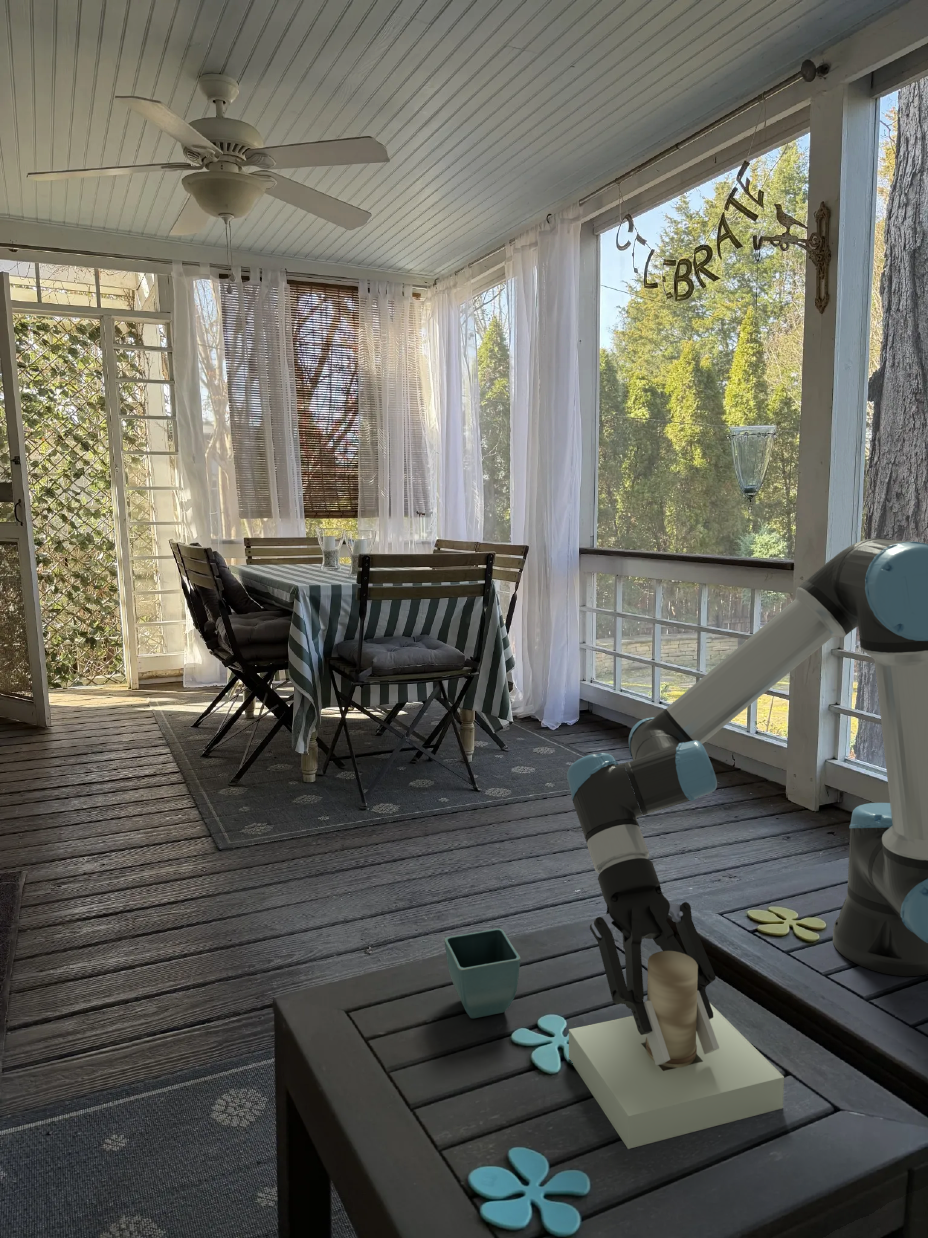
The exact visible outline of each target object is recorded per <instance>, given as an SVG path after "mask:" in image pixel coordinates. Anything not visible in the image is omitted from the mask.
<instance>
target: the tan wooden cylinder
mask: <svg viewBox="0 0 928 1238" xmlns="http://www.w3.org/2000/svg"><path fill="white" fill-rule="evenodd" d="M697 980H698V965H697V963H696V961H695V960H694V959H693V958H691V957H690V956H688V955H687V953H685V954H683V953H680V952H675V951H662V950H661V951H657V952H654V953H653V954H651V955H650V956H649V957H648V959H647V986H646V987H647V995H646V997H647V999H646V1001H650V1000H651V1002H652V1005H653V1008H654V1011H655V1014H656V1017H657V1020H658V1023H659V1026H660V1029H661V1032H662V1035H663V1038H664V1041H665V1045H666V1048H667V1051H668V1054H669V1057H670V1060H669V1061H667V1062H665V1063H663V1064H661V1065H659V1066H660V1068H661V1069H662V1070H663V1071H666V1070H670V1069H674V1068H679V1067H685V1066H688V1065H690V1064H691V1063H692V1062H693V1061H694V1060H695V1057H696V1053H697V1045H696V1020H697ZM646 1049H647V1053H648V1055H649V1057H650V1058H651V1059H652V1060H654V1058H653V1055H652V1052H651V1048H650V1045H649V1042H648V1039H647V1037H646Z"/></svg>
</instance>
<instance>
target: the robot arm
mask: <svg viewBox="0 0 928 1238" xmlns="http://www.w3.org/2000/svg"><path fill="white" fill-rule="evenodd" d="M795 590H796V591H795V597H794V600H793V601H791V602H789V604H788V605H786V606H785V607H784V608H782V610H781V611H779V613H777V614H776V615H775V616H774V617H772V618H771V619H770V620H768V621H767V623H765V624H764V625H763V626H761V627H760V628H759V629H758V630H757V631H756V632H755V633H753V635H751V636H750V637H749V638H747V640H745V641H744V642H743V643H742V644H741V645H739V646H738V647H737V648H736V649H734V650H733V651H732V652H731V653H730V654H729V655H727V656H726V657H725V658H724V659H723V660H722V661H720V662H719V663H718V664H716V665H715V666H714V668H712V669H711V670H709V671H708V672H707V673H706V674H705V675H704V676H702V678H700V679H699V680H698V681H697V682H696V683H694V684H693V685H692V686H691V687H690V688H689V689H687V690H686V691H685V692H684V693H682V694H681V696H679V697H678V698H677V699H676V700H674V701H673V702H671V704H669V705H668V706H667V707H666V708H664V709H663V710H662V711H661V712H660V713H658V714H657V715H655V717H647V718H646V717H645V718H643V719H641V720H639V721H638V722H636V723H635V724H634V725H633V726H632V728H631V730H630V733H629V735H628V747H629V749H628V751H629V753H630V758H632V760H631V761H627V762H622V763H619V762H618V761H617V760H616V758H615V757H614V756H613V755H611V754H610V753H607V752H600V753H597V754H593V753H592V754H588V755H585V756H583V757H581V758H579V759H577V760H576V761H575V762H573V763H572V764H571V765H570V766H569V768H568V770H567V773H566V780H567V783H568V787H569V791H570V792H569V793H570V795H571V800H572V803H573V806H574V807H573V808H574V809H575V812H576V816H577V818H578V822H579V824H580V827H581V830H582V833H583V836H584V839H585V841H586V847H587V848H588V852H589V856H590V858H591V862H592V864H593V868H594V871H595V872H596V873H597V874H598V876H597V880H598V884H599V887H600V890H601V893H602V897H603V900H604V902H605V904H606V912H605V915H603V916H598V917H596V918H595V919H594V920H593V921H592V923H591V924H590V925H589V930H590V931H591V933H592V935H593V936H594V938H595V940H596V942H597V943H598V949H599V952H600V956H601V960H602V964H603V968H604V972H605V976H606V980H607V984H608V987H609V991H610V996H611V1000H612V1002H613V1003H614V1004H615V1005H625V1006H626V1008H628V1009H629V1010H630V1009H631V1013H632V1016H634V1019H635V1023H636V1025H637V1029H638V1032H639V1033H640V1034H641V1035H644V1034H646V1036H647V1039H648V1042H649V1045H650V1048H651V1052H652V1055H653V1058H654V1061H655V1064H656V1066H657V1065H661V1064H663V1063H665V1062H667V1061H669V1060H670V1057H669V1054H668V1051H667V1048H666V1045H665V1041H664V1038H663V1035H662V1032H661V1029H660V1026H659V1023H658V1020H657V1017H656V1014H655V1011H654V1008H653V1005H652V1002H651V1000H650V1001H647V1000H646V1001H644V998H645V997H644V994H645V993H644V981H643V977H644V976H643V967H642V966H643V964H642V963H643V962H642V947H641V945H642V940H643V939H644V940H645V939H647V940H653V942H654V944H655V945H656V946H658V947H659V948H660V949H661V951H675V952H680V953H683V954H686V955H688V956H690V957H691V958H693V959H694V960H695V961H696V963H697V965H698V980H697V1020H696V1031H697V1034H698V1037H699V1040H700V1043H701V1046H702V1049H703V1052H704V1054H708V1053H711V1052H713V1051H715V1050H717V1049H719V1045H718V1042H717V1040H716V1037H715V1034H714V1031H713V1029H712V1026H711V1023H710V1019H712V1018H713V1011H712V1008H711V1006H710V1004H711V1002H710V1000H709V998H708V995H707V992H706V990H707V989H706V988H707V987H708V986H709V985H710V984H711V983H713V982H714V981H715V980H716V974H715V971H714V968H713V966H712V964H711V962H710V960H709V957H708V955H707V952H706V950H705V948H704V946H703V945H704V944H703V943H702V940H701V938H700V935H699V934H698V931H697V929H696V927H695V924H694V922H693V916H692V907H691V904H690V903H689V902H687V901H685V902H682V903H679V904H678V903H677V904H676V903H672V902H671V903H670V902H669V900H668V899H667V898H666V897H665V895H664V894H663V892H662V887H661V882H660V880H659V877H658V875H657V871H656V869H655V866H654V864H653V861H651V860H650V859H649V857H650V852H649V850H648V846H647V843H646V841H645V837H644V835H643V833H642V830H641V827H640V824H639V822H638V819H637V818H640V817H643V816H647V815H648V814H652V813H654V812H658V811H661V810H665V809H667V808H671V807H674V806H677V805H681V804H684V803H687V802H693V801H697V799H699V798H701V797H704V796H706V795H709V794H711V793H713V792H715V791H716V790H717V787H718V781H717V776H716V772H715V771H714V770H715V769H714V767H713V764H712V762H711V760H710V759H711V758H709V757H710V756H709V755H708V752H707V750H706V748H705V746H704V745H703V744H705V742H707V741H708V740H709V739H711V738H712V737H713V736H714V735H715V734H717V733H718V732H719V731H720V730H722V728H724V727H725V726H726V725H727V724H729V723H730V722H731V721H732V720H733V719H735V718H736V717H737V716H739V715H740V714H741V713H742V712H743V711H745V710H746V709H747V708H748V707H750V705H752V704H754V702H756V701H757V700H758V699H759V698H760V697H762V696H763V695H764V694H765V693H766V692H768V691H769V690H770V689H771V688H773V686H775V685H776V684H777V683H778V682H780V681H781V680H782V679H783V678H784V677H786V676H788V675H789V673H791V672H792V671H793V670H794V669H796V668H797V667H798V666H799V665H800V664H802V663H803V662H804V661H805V660H807V659H808V658H809V657H810V656H811V655H813V654H814V653H815V652H816V651H818V650H819V649H820V648H821V647H822V646H824V645H825V644H826V643H828V642H829V641H830V640H831V639H832V638H845V637H846V636H848V634H850V633H851V632H852V631H853V630H855V629H856V628H857V629H858V638H859V645H860V649H861V651H863V652H864V653H865V654H867V655H868V656H870V657H871V658H872V659H873V660H874V665H875V667H874V670H875V675H876V687H877V696H878V704H879V712H880V724H881V732H882V741H883V742H882V743H883V751H884V759H885V769H886V777H887V786H888V795H889V802H870V803H864V804H860V805H858V806H856V807H855V808H854V809H853V810H852V813H851V818H850V819H851V820H850V824H849V827H848V828H849V843H848V844H849V847H848V848H849V850H848V851H849V852H848V868H847V869H848V873H847V892H846V893H847V894H846V898H845V899H844V902H843V904H842V907H841V909H840V911H839V915H838V917H837V919H836V920H835V921H834V924H833V929H832V943H833V945H834V948H835V949H836V950H837V951H838V953H840V954H841V956H843V957H845V959H847V960H849V961H851V963H852V962H853V963H854V964H856V965H858V966H861V967H862V968H865V969H868V970H871V971H873V972H874V971H875V972H877V973H881V974H886V975H892V976H898V977H899V976H900V977H917V976H923V975H927V974H928V543H926V542H920V541H906V540H897V539H892V538H891V539H890V538H883V537H874V538H868V539H863V540H861V541H858V542H855V543H853V544H851V545H849V546H848V547H846V548H845V549H843V550H842V551H840V552H839V553H837V554H836V555H835V556H833V557H832V558H831V559H830V560H828V561H827V562H826V563H825V564H823V565H822V566H821V567H820V568H818V570H816V571H815V572H814V573H813V574H812V575H810V576H809V577H808V578H807V579H806V580H805V581H804V582H803V583H801V584H800V585H799V586H798V587H796V589H795ZM668 916H671V921H673V922H675V926H676V929H677V933H678V934H679V937H680V939H681V943H682V945H683V948H684V950H683V948H682V946H681V945H680V943H679V941H678V940H677V939H676V937H675V933H674V931H673V929H672V928H671V926H670V924H669V923H668V922H667V921H668V918H669V917H668ZM613 927H615V928H616V929H617V930H618V931H619V932H620V933H621V934H622V945H623V946H622V947H623V950H624V962H625V976H624V972H623V969H622V964H621V961H620V957H619V953H618V950H617V945H616V942H615V938H614V935H613V933H612V931H613Z"/></svg>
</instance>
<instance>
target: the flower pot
mask: <svg viewBox="0 0 928 1238" xmlns="http://www.w3.org/2000/svg"><path fill="white" fill-rule="evenodd" d="M443 939H444V940H443V941H444V947H445V955H446V961H447V966H448V967H447V968H448V971H449V972H448V973H449V975H450V979H451V981H452V984H453V986H454V989H455V991H456V992H457V995H458V997H459V999H460V1002H461V1004H462V1006H463V1009H464V1010H465V1012H466V1014H467V1015H468V1017H469V1018H470V1019H478V1018H482V1017H483V1018H484V1017H488V1016H493V1015H497V1014H503V1013H505V1012H506V1011H507V1010H508V1009H509V1007H510V1006H511V1004H512V1002H513V1001H514V999H515V997H516V994H517V991H518V986H519V983H518V982H519V976H520V966H521V956H520V954H519V953H518V951H517V950H516V948H515V947H514V946H513V944H512V942H511V941H510V939H509V937H508V936H507V934H506V932H505V931H504V930H503V929H502V928H492V929H487V930H482V931H477V932H475V931H474V932H470V933H464V934H459V935H458V934H457V935H451V936H447V937H444V938H443Z"/></svg>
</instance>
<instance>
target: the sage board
mask: <svg viewBox="0 0 928 1238" xmlns="http://www.w3.org/2000/svg"><path fill="white" fill-rule="evenodd" d="M710 1006H711V1008H712V1011H713V1018H712V1019H710V1023H711V1026H712V1029H713V1031H714V1034H715V1037H716V1040H717V1042H718V1045H719V1049H717V1050H715V1051H713V1052H711V1053H708V1054H704V1052H703V1049H702V1046H701V1043H700V1040H699V1037H698V1034H697V1031H696V1045H697V1053H696V1057H695V1060H694V1061H693V1062H692V1063H691V1064H690V1065H688V1066H685V1067H679V1068H674V1069H670V1070H666V1071H663V1070H662V1069H661V1068H660V1066H659V1065H657V1066H656V1064H655V1061H654V1060H652V1059H651V1058H650V1057H649V1055H648V1053H647V1049H646V1037H647V1036H646V1034H644V1035H641V1034H640V1033H639V1032H638V1029H637V1025H636V1023H635V1019H634V1016H633V1015H630V1016H626V1017H620V1018H616V1019H611V1020H608V1021H602V1022H601V1021H600V1022H598V1023H592V1024H589V1025H587V1024H586V1025H583V1026H578V1027H574V1028H569V1029H568V1059H569V1058H570V1059H569V1061H570V1060H571V1061H572V1062H573V1064H572V1065H573V1067H574V1069H575V1070H576V1072H577V1074H578V1075H579V1076H580V1078H581V1079H582V1081H583V1082H584V1084H585V1086H586V1087H587V1088H588V1090H589V1092H590V1093H591V1095H592V1096H593V1098H594V1099H595V1101H596V1102H597V1104H598V1105H599V1107H600V1108H601V1110H602V1111H603V1113H604V1114H605V1116H606V1117H607V1119H608V1120H609V1122H610V1123H611V1126H612V1127H613V1128H614V1129H615V1131H616V1133H617V1134H618V1136H619V1137H620V1139H621V1140H622V1142H623V1143H624V1145H625V1146H626V1149H627V1150H630V1149H633V1148H636V1147H637V1148H638V1147H641V1146H645V1145H649V1144H652V1143H656V1142H660V1141H664V1140H669V1139H671V1138H676V1137H679V1136H683V1135H686V1134H690V1133H694V1132H698V1131H702V1130H706V1129H709V1128H713V1127H716V1126H721V1125H724V1124H728V1123H733V1122H736V1121H740V1120H744V1119H747V1118H751V1117H754V1116H758V1115H759V1116H760V1115H762V1114H766V1113H771V1112H774V1111H778V1110H782V1109H784V1089H785V1087H784V1086H785V1085H784V1084H785V1076H784V1075H783V1074H782V1073H781V1072H780V1071H779V1070H778V1069H777V1068H776V1067H775V1066H774V1065H773V1064H772V1063H771V1062H770V1061H769V1060H768V1059H767V1058H766V1057H764V1055H763V1054H762V1053H761V1052H760V1051H759V1050H758V1049H756V1047H754V1045H752V1043H751V1042H750V1041H749V1040H748V1039H746V1037H744V1035H743V1034H741V1033H742V1032H741V1033H740V1031H739V1030H738V1029H737V1028H736V1027H734V1025H733V1024H731V1022H730V1021H729V1020H728V1019H727V1018H725V1016H724V1015H722V1013H721V1012H720V1011H719V1010H718V1009H717V1008H715V1007H714V1005H712V1003H710ZM571 1061H570V1062H571ZM572 1062H571V1063H572Z"/></svg>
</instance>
